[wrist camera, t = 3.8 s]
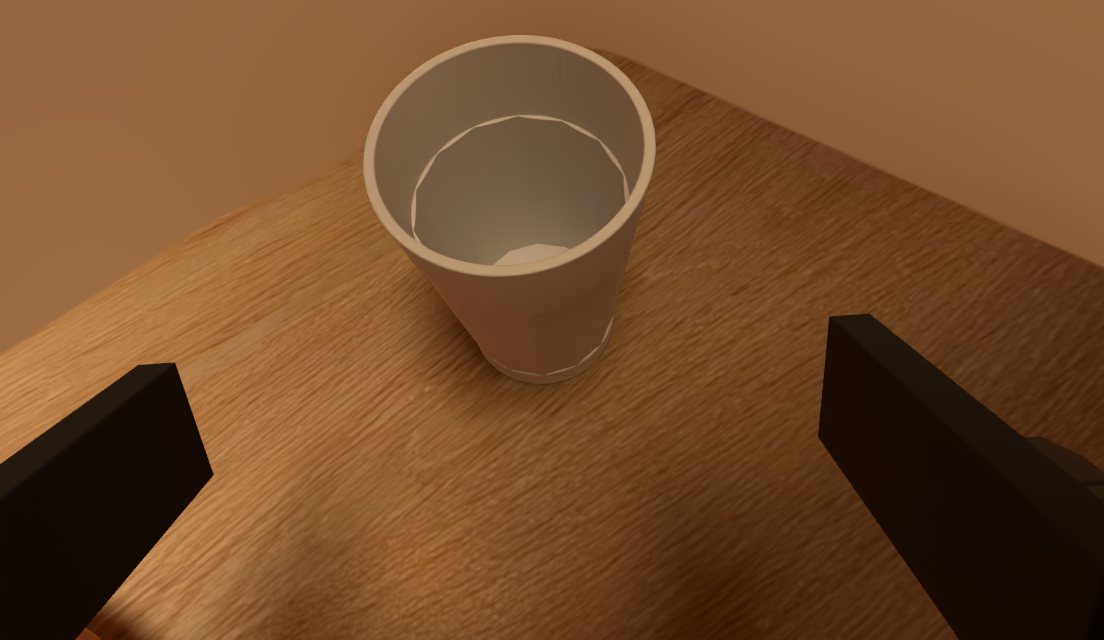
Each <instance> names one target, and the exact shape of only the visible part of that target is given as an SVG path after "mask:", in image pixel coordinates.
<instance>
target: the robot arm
mask: <svg viewBox="0 0 1104 640" xmlns="http://www.w3.org/2000/svg"><path fill="white" fill-rule="evenodd" d="M818 438H819V439H820V440H821V442H822V443H823V445H824V446H825V448H826V449H827V450H828V452H829V453H830V455H831V456H832V458H833V459H834V460H835V462H836V463H837V465H838V466H839V468H840V469H841V471H842V472H843V473H844V475H845V476H846V478H847V479H848V481H849V482H850V483H851V485H852V486H853V488H854V489H855V491H856V492H857V493H858V495H859V496H860V498H861V499H862V501H863V502H864V504H865V505H866V506H867V508H868V509H869V511H870V512H871V514H872V515H873V516H874V518H875V519H876V521H877V522H878V524H879V525H880V526H881V528H882V529H883V531H884V532H885V534H886V535H887V537H888V538H889V539H890V541H891V542H892V544H893V545H894V547H895V548H896V549H897V551H898V552H899V554H900V555H901V557H902V558H903V559H904V561H905V562H906V564H907V565H908V567H909V568H910V570H911V571H912V572H913V574H914V575H915V577H916V578H917V580H918V581H919V582H920V584H921V585H922V587H923V588H924V590H925V591H926V592H927V594H928V595H929V597H930V598H931V600H932V601H933V603H934V604H935V605H936V607H937V608H938V610H939V611H940V613H941V614H942V615H943V617H944V618H945V620H946V621H947V623H948V624H949V626H950V627H951V628H952V630H953V631H954V633H955V634H956V636H957V637H958V638H959V640H1104V472H1103V471H1101V470H1100V469H1099V468H1097V467H1096V466H1095V465H1093V464H1092V463H1091V462H1089V461H1088V460H1087V459H1085V458H1084V457H1083V456H1081V455H1079V454H1076V453H1074V452H1072V451H1070V450H1068V449H1066V448H1064V447H1062V446H1059V445H1057V444H1055V443H1053V442H1051V441H1049V440H1047V439H1044V438H1042V437H1027V438H1023V437H1022V436H1021V435H1020V434H1019V433H1017V432H1016V431H1015V430H1014V429H1012V428H1011V427H1010V426H1009V425H1007V424H1006V423H1005V422H1004V421H1002V420H1001V419H1000V418H999V417H997V416H996V415H995V414H994V413H992V412H991V411H990V410H989V409H987V408H986V407H985V406H984V405H982V404H981V403H980V402H979V401H977V400H976V399H975V398H974V397H972V396H971V395H970V394H969V393H967V392H966V391H965V390H964V389H962V388H961V387H960V386H959V385H957V384H956V383H955V382H954V381H952V380H951V379H950V378H949V377H948V376H946V375H945V374H944V373H943V372H941V371H940V370H939V369H938V368H936V367H935V366H934V365H933V364H931V363H930V362H929V361H928V360H926V359H925V358H924V357H923V356H921V355H920V354H919V353H918V352H916V351H915V350H914V349H913V348H911V347H910V346H909V345H908V344H906V343H905V342H904V341H903V340H901V339H900V338H899V337H898V336H896V335H895V334H894V333H893V332H891V331H890V330H889V329H888V328H886V327H885V326H884V325H883V324H881V323H880V322H879V321H878V320H877V319H875V318H874V317H873V316H872V315H870V314H859V315H845V316H831V317H829V327H828V338H827V348H826V359H825V369H824V380H823V390H822V401H821V411H820V422H819V432H818ZM213 475H214V474H213V471H212V469H211V466H210V463H209V460H208V457H207V454H206V451H205V448H204V445H203V442H202V440H201V437H200V434H199V431H198V428H197V425H196V422H195V419H194V416H193V413H192V411H191V408H190V405H189V402H188V399H187V396H186V393H185V390H184V387H183V384H182V382H181V379H180V376H179V373H178V370H177V367H176V364H175V363H161V364H146V365H138V366H136V367H135V368H134V369H132V370H131V371H129V372H128V373H127V374H125V375H124V376H122V377H121V378H120V379H118V380H117V381H115V382H114V383H113V384H111V385H110V386H108V387H107V388H106V389H104V390H103V391H101V392H100V393H99V394H97V395H96V396H95V397H93V398H92V399H90V400H89V401H88V402H86V403H85V404H83V405H82V406H81V407H79V408H78V409H76V410H75V411H74V412H72V413H71V414H69V415H68V416H67V417H65V418H64V419H62V420H61V421H60V422H58V423H57V424H55V425H54V426H53V427H51V428H50V429H49V430H47V431H46V432H44V433H43V434H42V435H40V436H39V437H37V438H36V439H35V440H33V441H32V442H30V443H29V444H28V445H26V446H25V447H23V448H22V449H21V450H19V451H18V452H16V453H15V454H14V455H12V456H11V457H9V458H8V459H7V460H5V461H4V462H3V463H1V464H0V640H76V638H77V637H78V636H79V635H80V634H81V632H82V631H83V630H84V629H85V628H86V626H87V625H88V624H89V623H90V622H91V621H92V619H93V618H94V617H95V616H96V615H97V613H98V612H99V611H100V610H101V609H102V607H103V606H104V605H105V604H106V603H107V601H108V600H109V599H110V598H111V597H112V595H113V594H114V593H115V592H116V591H117V590H118V588H119V587H120V586H121V585H122V584H123V582H124V581H125V580H126V579H127V578H128V576H129V575H130V574H131V573H132V572H133V570H134V569H135V568H136V567H137V566H138V564H139V563H140V562H141V561H142V560H143V558H144V557H145V556H146V555H147V554H148V553H149V551H150V550H151V549H152V548H153V547H154V545H155V544H156V543H157V542H158V541H159V539H160V538H161V537H162V536H163V535H164V533H165V532H166V531H167V530H168V529H169V527H170V526H171V525H172V524H173V523H174V522H175V520H176V519H177V518H178V517H179V516H180V514H181V513H182V512H183V511H184V510H185V508H186V507H187V506H188V505H189V504H190V502H191V501H192V500H193V499H194V498H195V496H196V495H197V494H198V493H199V492H200V490H201V489H202V488H203V487H204V486H205V485H206V483H207V482H208V481H209V480H210V479H211V477H212V476H213Z"/></svg>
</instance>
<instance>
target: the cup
mask: <svg viewBox="0 0 1104 640" xmlns="http://www.w3.org/2000/svg"><path fill="white" fill-rule="evenodd" d="M655 154H656V140H655V131H654V126H653V122H652V118H651V115H650V112H649V110H648V108H647V105H646V103H645V101H644V99H643V98H642V96H641V94H640V93H639V91H638V90H637V88H636V87H635V86H634V84H633V83H632V82H631V81H630V80H629V78H628V77H627V76H626V75H625V74H624V73H623V72H622V71H620V70H619V69H618V68H617V67H616V66H615V65H613V64H612V63H611V62H609V61H608V60H606V59H605V58H603V57H602V56H600V55H598V54H596V53H594V52H592V51H590V50H588V49H586V48H584V47H581V46H579V45H576V44H573V43H570V42H566V41H563V40H559V39H554V38H549V37H542V36H531V35H530V36H529V35H510V36H499V37H492V38H487V39H482V40H477V41H474V42H470V43H467V44H464V45H461V46H458V47H455V48H453V49H450V50H448V51H446V52H444V53H442V54H440V55H438V56H436V57H434V58H433V59H431V60H429V61H427V62H426V63H424V64H423V65H421V66H420V67H418V68H417V69H416V70H414V71H413V72H412V73H411V74H409V75H408V76H407V77H406V78H405V79H404V80H403V81H402V82H401V83H400V84H399V85H398V86H397V87H396V88H395V89H394V90H393V91H392V92H391V94H390V95H389V96H388V97H387V99H386V100H385V101H384V103H383V104H382V106H381V108H380V109H379V111H378V112H377V114H376V116H375V118H374V120H373V123H372V125H371V128H370V130H369V133H368V136H367V140H366V144H365V149H364V157H363V173H364V181H365V187H366V191H367V194H368V197H369V200H370V203H371V205H372V207H373V209H374V211H375V213H376V215H377V217H378V218H379V220H380V221H381V223H382V224H383V226H384V227H385V228H386V229H387V231H388V232H389V233H390V234H391V236H392V237H393V238H394V239H395V240H396V242H397V243H398V244H399V245H400V247H401V248H402V249H403V250H404V251H405V253H406V254H407V255H408V256H409V257H410V259H411V260H412V261H413V262H414V264H415V265H416V266H417V267H418V268H419V270H420V271H421V272H422V273H423V275H424V276H425V277H426V278H427V279H428V281H429V282H430V283H431V285H432V286H433V287H434V288H435V290H436V291H437V292H438V294H439V295H440V296H441V297H442V299H443V300H444V301H445V303H446V304H447V305H448V306H449V308H450V309H451V310H452V312H453V313H454V314H455V315H456V317H457V318H458V319H459V321H460V322H461V323H462V325H463V326H464V327H465V328H466V330H467V331H468V332H469V334H470V335H471V336H472V337H473V339H474V340H475V341H476V343H477V344H478V346H479V348H480V350H481V352H482V354H483V355H484V357H485V358H486V359H487V360H488V362H489V363H490V364H491V365H492V366H493V367H495V368H496V369H497V370H498V371H500V372H501V373H503V374H504V375H506V376H508V377H510V378H512V379H515V380H518V381H521V382H525V383H531V384H551V383H557V382H561V381H564V380H567V379H570V378H572V377H574V376H576V375H578V374H580V373H582V372H583V371H585V370H586V369H587V368H589V367H590V366H591V365H592V364H593V363H594V362H595V361H596V360H597V359H598V358H599V356H600V355H601V354H602V352H603V351H604V349H605V348H606V346H607V344H608V341H609V339H610V336H611V333H612V328H613V320H614V312H615V308H616V304H617V300H618V296H619V292H620V288H621V284H622V280H623V277H624V273H625V269H626V265H627V261H628V257H629V253H630V249H631V245H632V242H633V238H634V235H635V232H636V228H637V225H638V221H639V218H640V214H641V211H642V208H643V204H644V201H645V197H646V194H647V190H648V187H649V183H650V180H651V176H652V173H653V168H654V163H655Z"/></svg>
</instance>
